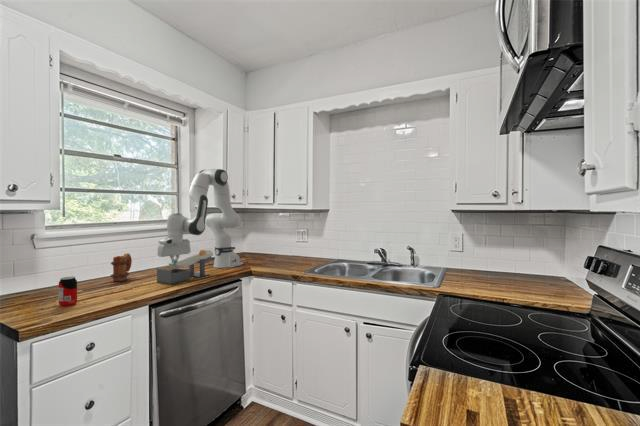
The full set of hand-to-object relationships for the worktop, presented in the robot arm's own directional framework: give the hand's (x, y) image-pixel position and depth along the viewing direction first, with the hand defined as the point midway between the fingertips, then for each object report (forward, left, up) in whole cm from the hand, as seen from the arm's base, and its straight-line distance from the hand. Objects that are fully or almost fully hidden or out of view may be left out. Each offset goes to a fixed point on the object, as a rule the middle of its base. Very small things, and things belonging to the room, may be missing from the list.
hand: (174, 262), depth 191 cm
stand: (-10, +7, -9) cm, 16 cm away
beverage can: (+57, +6, -10) cm, 58 cm away
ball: (-14, +7, +5) cm, 17 cm away
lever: (-10, +4, -3) cm, 11 cm away
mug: (+18, -24, -10) cm, 31 cm away
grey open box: (+6, +7, -9) cm, 13 cm away
